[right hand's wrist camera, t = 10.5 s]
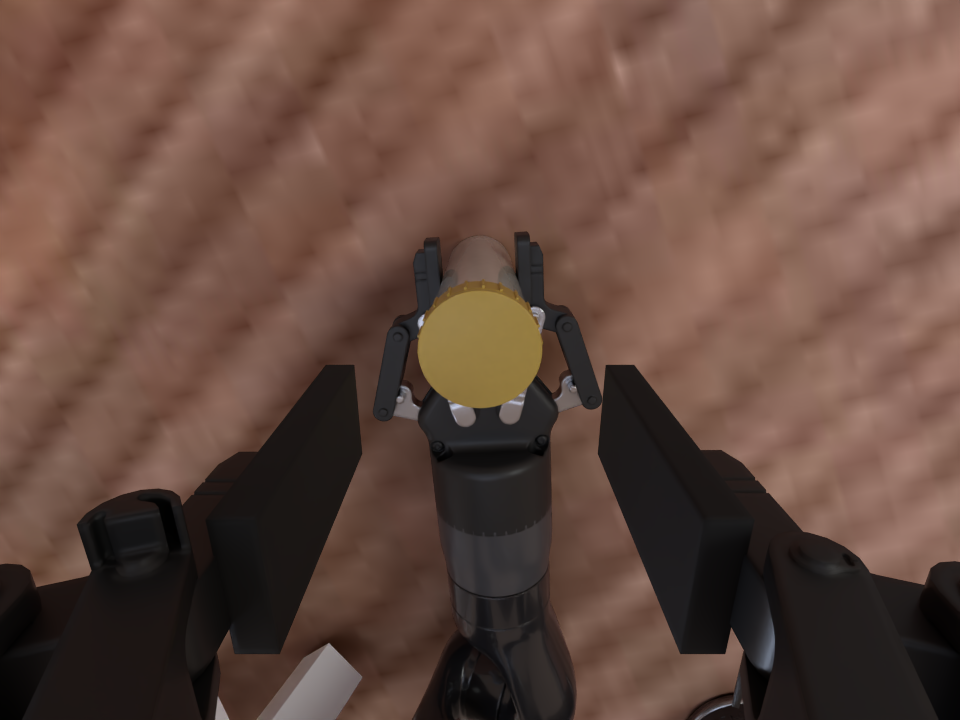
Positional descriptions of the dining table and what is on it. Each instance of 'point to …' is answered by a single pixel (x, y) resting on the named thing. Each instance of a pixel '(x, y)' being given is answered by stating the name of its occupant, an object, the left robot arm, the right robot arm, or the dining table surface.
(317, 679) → the pile of blocks
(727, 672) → the dining table surface
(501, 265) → the beige bottle
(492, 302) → the lid
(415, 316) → the left robot arm
